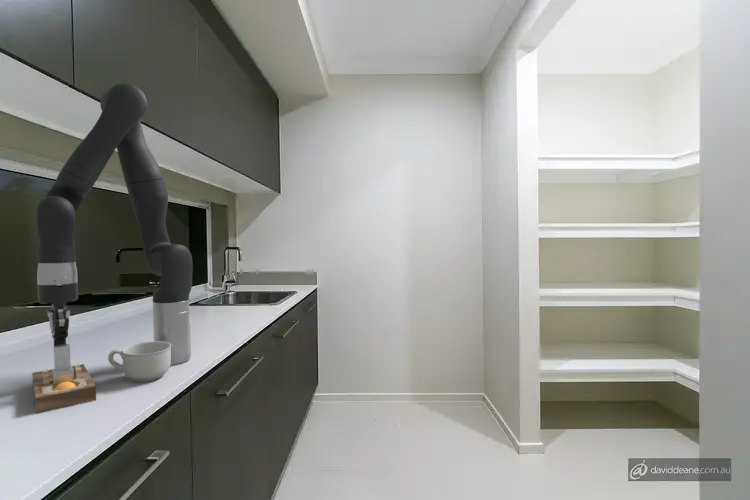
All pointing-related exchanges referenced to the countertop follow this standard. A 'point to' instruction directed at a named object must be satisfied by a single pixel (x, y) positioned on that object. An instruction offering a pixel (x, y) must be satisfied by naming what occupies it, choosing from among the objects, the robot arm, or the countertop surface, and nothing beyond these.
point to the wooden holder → (62, 398)
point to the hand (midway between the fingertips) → (60, 354)
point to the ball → (64, 386)
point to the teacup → (144, 360)
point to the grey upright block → (62, 365)
